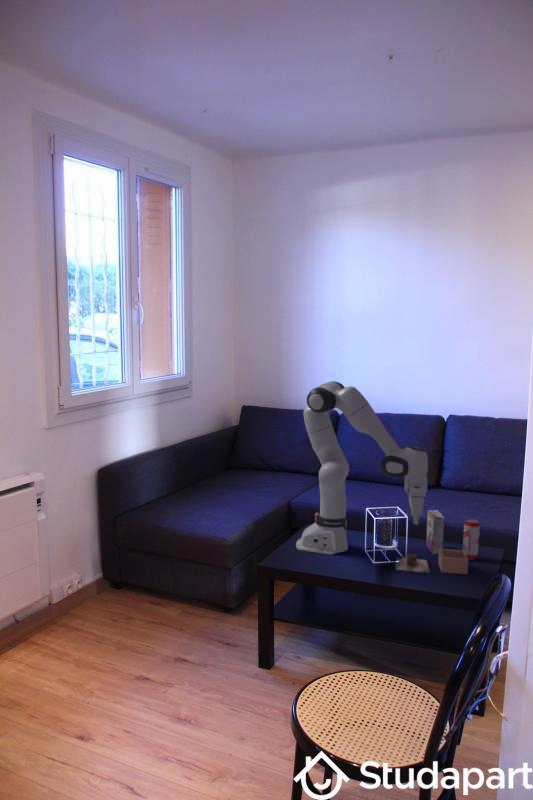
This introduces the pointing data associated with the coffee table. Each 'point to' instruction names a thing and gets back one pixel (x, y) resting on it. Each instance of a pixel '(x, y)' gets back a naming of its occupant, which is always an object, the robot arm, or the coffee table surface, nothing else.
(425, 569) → the lid
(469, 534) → the beer can
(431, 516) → the candy bar box
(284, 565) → the coffee table surface
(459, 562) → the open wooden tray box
